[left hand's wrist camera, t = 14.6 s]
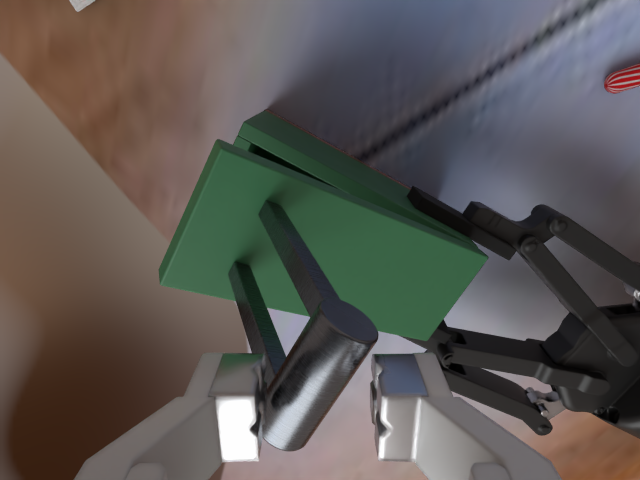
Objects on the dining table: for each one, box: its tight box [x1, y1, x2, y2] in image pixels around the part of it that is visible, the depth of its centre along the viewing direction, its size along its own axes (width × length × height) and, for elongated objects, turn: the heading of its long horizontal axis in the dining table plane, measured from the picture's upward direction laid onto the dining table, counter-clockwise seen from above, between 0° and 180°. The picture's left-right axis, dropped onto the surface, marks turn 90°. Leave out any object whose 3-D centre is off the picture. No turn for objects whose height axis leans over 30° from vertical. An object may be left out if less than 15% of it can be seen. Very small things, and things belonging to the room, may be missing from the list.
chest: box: [233, 109, 478, 248], centre depth 27 cm, size 14×6×9 cm, turn 62°
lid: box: [159, 139, 488, 451], centre depth 16 cm, size 15×6×9 cm, turn 62°
